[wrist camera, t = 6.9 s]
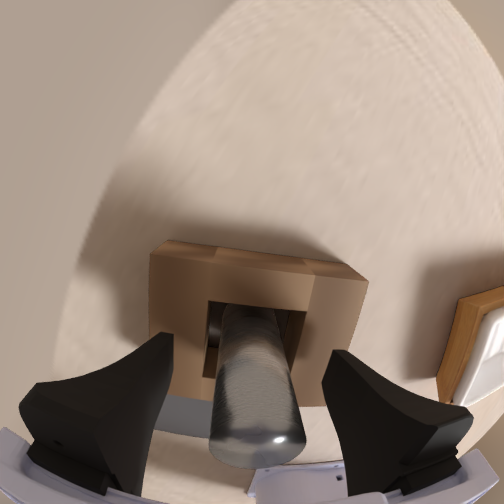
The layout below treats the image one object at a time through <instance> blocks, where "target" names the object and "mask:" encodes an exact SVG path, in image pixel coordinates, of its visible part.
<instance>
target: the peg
mask: <svg viewBox="0 0 504 504" xmlns="http://www.w3.org/2000/svg"><path fill="white" fill-rule="evenodd" d="M305 445H306V435H305V431H304V427H303V423H302V419H301V415H300V411H299V407H298V403H297V399H296V395H295V391H294V387H293V383H292V379H291V376H290V372H289V368H288V364H287V360H286V356H285V352H284V348H283V344H282V340H281V337H280V333H279V329H278V325H277V321H276V317H275V313H274V310H273V308H267V307H258V306H249V305H241V304H233V303H229V304H228V305H227V307H226V308H225V310H224V313H223V320H222V328H221V336H220V344H219V352H218V360H217V369H216V378H215V387H214V396H213V405H212V414H211V424H210V434H209V450H210V452H211V453H212V455H213V456H214V457H215V458H216V459H218V460H219V461H221V462H223V463H225V464H227V465H230V466H234V467H238V468H244V469H264V468H270V467H275V466H278V465H281V464H284V463H286V462H289V461H290V460H292V459H294V458H295V457H297V456H298V455H299V454H300V453H301V452H302V451H303V449H304V448H305Z"/></svg>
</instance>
